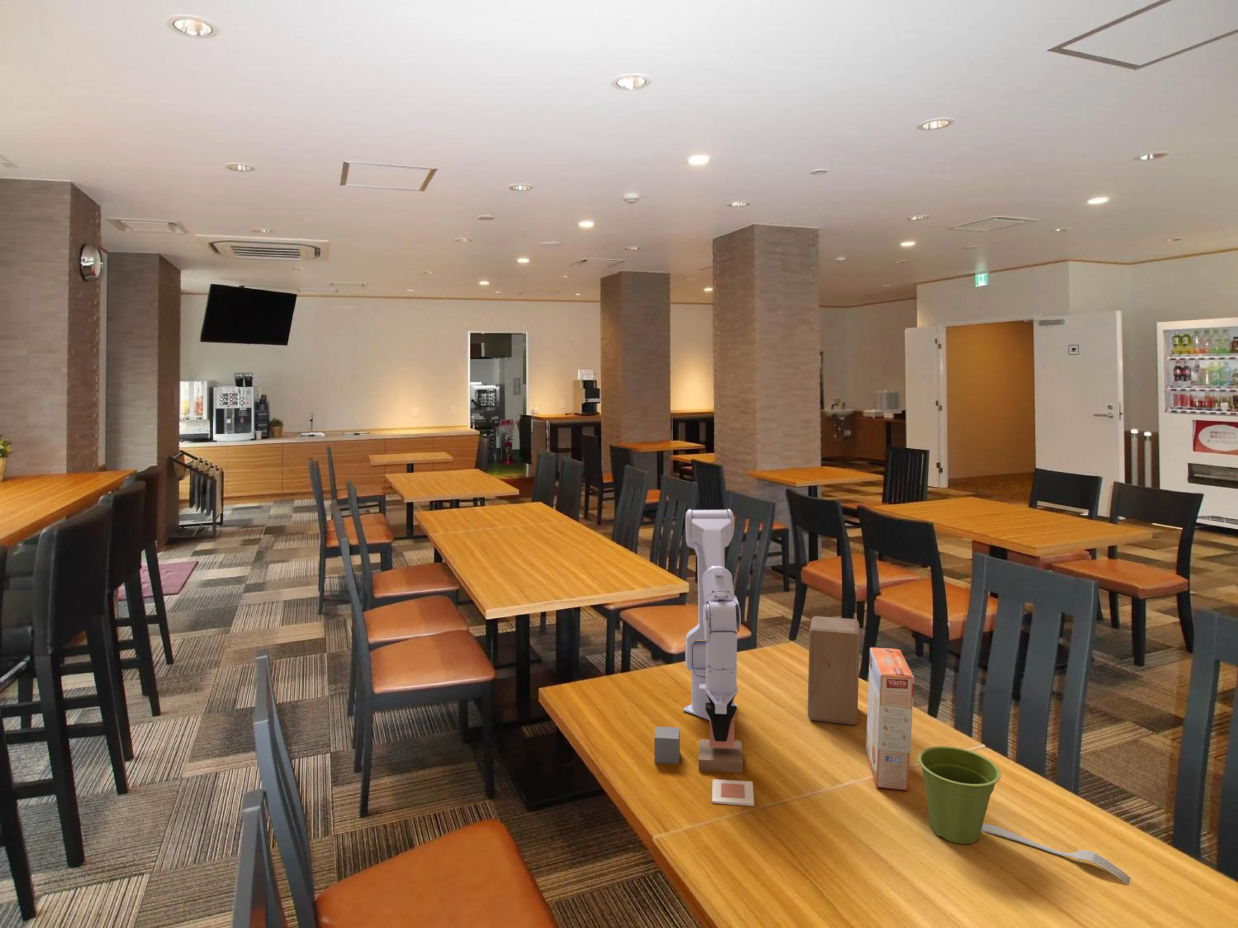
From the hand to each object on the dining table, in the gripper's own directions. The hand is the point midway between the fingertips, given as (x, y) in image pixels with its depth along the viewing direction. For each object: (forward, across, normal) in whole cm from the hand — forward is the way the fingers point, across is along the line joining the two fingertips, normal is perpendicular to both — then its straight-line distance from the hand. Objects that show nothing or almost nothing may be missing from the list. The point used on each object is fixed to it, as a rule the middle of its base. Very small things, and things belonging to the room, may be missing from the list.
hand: (720, 733), depth 141 cm
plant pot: (+6, +18, +37) cm, 41 cm away
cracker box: (+5, 0, +30) cm, 31 cm away
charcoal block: (+5, 0, -10) cm, 11 cm away
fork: (+6, +22, +50) cm, 55 cm away
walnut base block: (+6, 0, 0) cm, 6 cm away
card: (+5, +11, +2) cm, 12 cm away
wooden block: (+5, -23, +24) cm, 33 cm away
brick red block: (+2, 0, 0) cm, 2 cm away
